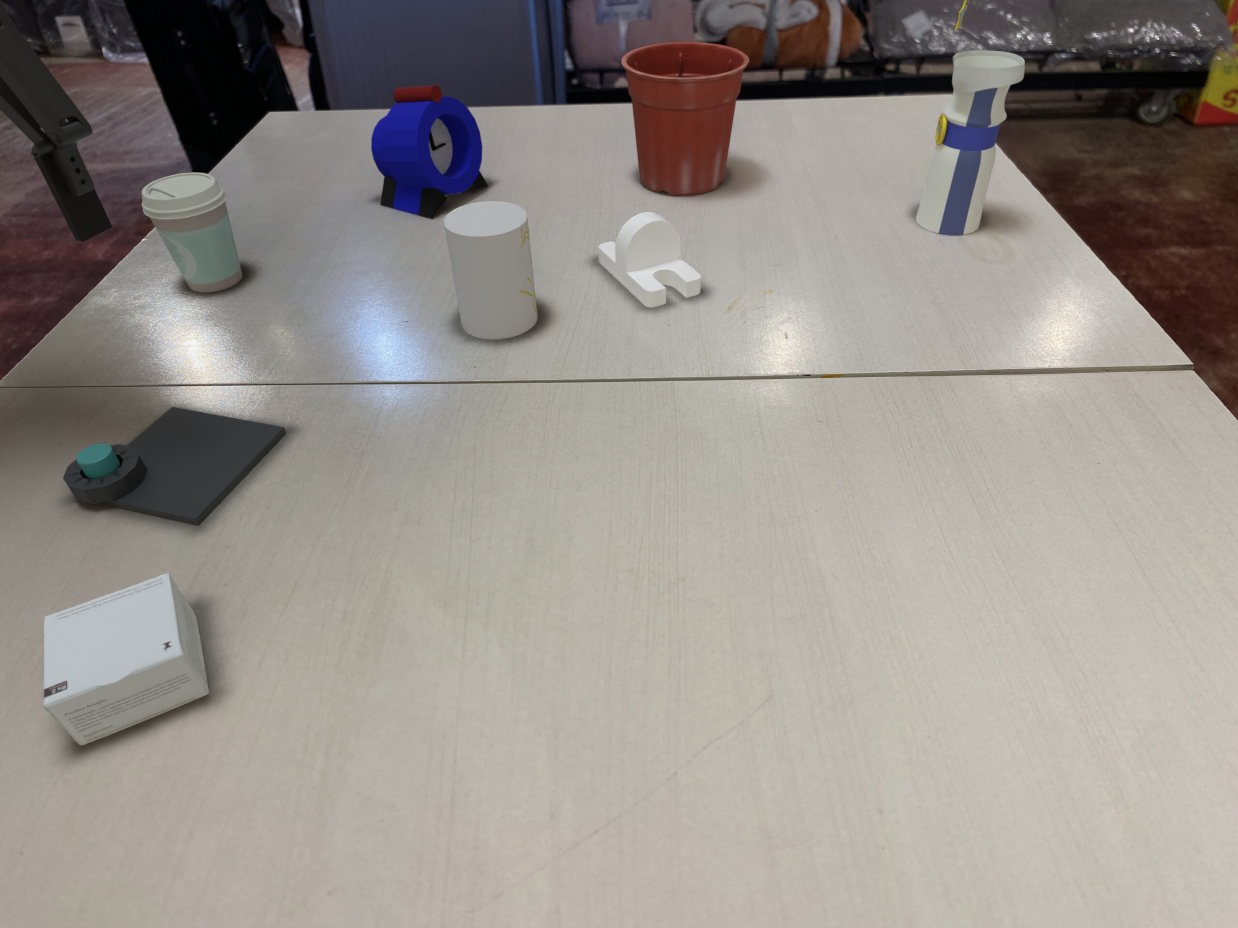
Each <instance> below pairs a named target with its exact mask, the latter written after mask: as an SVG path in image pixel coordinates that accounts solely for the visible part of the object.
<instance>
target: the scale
mask: <svg viewBox="0 0 1238 928" xmlns="http://www.w3.org/2000/svg"><path fill="white" fill-rule="evenodd" d="M286 435H287V431H286V429H285V427H284V426H279V425H274V424H270V423H269V424H268V423H263V422H258V421H252V420H246V419H241V418H236V417H231V416H226V415H225V416H224V415H218V414H213V413H208V412H204V411H197V410H193V409H192V410H191V409H187V408H182V407H181V408H180V407H175V406H171V407H170V408H169V409H168V410H166V412H164V413H163V414H162V415H161V416H159V418H157V419H156V420H154V422H153V423H151V424H150V425H149V426H148V427H147V428H146V429H145V430H143V431H142V432H141V433H140V434H139V435H137V437H135V438H134V439H133V440H131V442H129V443H128V444H126V445H124V444H120V443H118V444H109V445H110V446H111V447H112V449H113V451H114V453H115V454H116V456H117V458H118V460H119V461H120V467H119V468H118V469H117V470H116V471H115V472H114V473H112V474H109V475H107V476H105V477H103V478H97V479H90V478H88V477H87V476H86V475H85V473H84V472H83V470H82V469H81V467H80V465H79V464H78V462H77V460H76V459H74V460H73V462H71V463H70V464H68V465H67V466H66V469H65V471H64V474H63V477H62V479H63V481H64V482H65V485H66V486H67V487H68V489H69V490H70V492H71V493H72V495H73V497H74V498H75V500H76V501H78V502H82V503H86V504H90V505H95V504H99V505H104V506H109V507H113V508H118V509H122V510H126V511H131V512H136V513H141V514H145V515H149V516H154V517H159V518H162V519H167V520H172V521H176V522H181V523H186V524H190V525H195V526H199V525H200V524H202V522H204V521H205V520H206V518H207V517H208V516H209V515H211V513H212V512H213V511H214V510H215V509H216V508H217V507H218V506H219V504H220V503H221V502H222V501H224V500H225V498H226V497H227V496H228V495H229V494H230V493H231V492H232V491H233V490H234V489H235V488H236V487H237V486H238V485H239V484H240V483H241V482H242V481H243V480H244V478H245V477H247V475H248V474H249V473H250V472H251V471H252V470H253V469H254V468H255V467H256V466H257V465H258V464H259V463H260V462H261V461H262V459H263V458H264V457H265V456H266V455H267V454H269V452H270V451H271V450H273V448H274V447H275V446H276V445H277V444H278V443H279V442H280V440H281V439H282V438H283V437H284V436H286Z"/></svg>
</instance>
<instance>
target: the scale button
mask: <svg viewBox="0 0 1238 928" xmlns="http://www.w3.org/2000/svg"><path fill="white" fill-rule="evenodd" d="M110 445H111V444H108V443H103V442H101V443H94V444H91V445H88V446H86V447H85V448H83V449H81V450H80V451H79V452H78V453H77V455H76V459H75V460H77V462H78V464H79V465H80V467H81V469H82V470H83V472H84V473H85V475H86V476H87V477H88V478H90V479H97V478H103V477H105V476H107V475H109V474H112V473H114V472H115V471H116V470H117V469H118V468H119V467H120V461H119V460H118V458H117V456H116V454H115V453H114V451H113V449H112V447H111V446H110Z"/></svg>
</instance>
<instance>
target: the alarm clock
mask: <svg viewBox="0 0 1238 928" xmlns="http://www.w3.org/2000/svg"><path fill="white" fill-rule="evenodd" d="M392 96H393V100H394V102H395V104H393V105H392V106H391V108H390V109H389V111H388V112H387V114H386V115H385V116H383V117H381V118H380V119H379V120H378V121H377V123H376V124H375V126H374V128H373V131H372V134H371V140H370V141H371V146H370V147H371V155H372V158H373V162H374V164H375V166H376V168H377V170H378V171H379V172H380V173H381V175H382V176H383V183H382V191H381V196H380V197H381V198H380V206H383V207H386V208H389V209H394V210H397V211H401V212H405V213H409V214H411V215H416V216H419V217H423V218H427V219H430V220H433V219H434V218H435V217H436V216H437V214H438V212H439V211H440V210H441V209H442V207H444V205H445V203H446V202H447V201H448V200H449V196H447V195H457V194H461V193H464V192H466V190H468V189H469V188H470V187H472V186H476V187H486V188H487V187H488V188H489V187H490V186H489V184H488V183H487V181H486V179H485V178H484V176H483V174H482V173H481V171H480V169H481V166H482V162H483V141H482V135H481V130H480V128H479V125H478V123H477V121H476V118H475V117H474V114H472V112H471V110H470V109H469V108H468V107H467V106H466V105H465V104H464V103H463V102H461V101H460V100H459V99H457V98H455V97H451V96H447V95H446V96H443V91H442V89H441V88H440V86H439V85H437V84H434V85H433V84H431V85H420V86H419V85H417V86H405V87H396V88H394V90H393V93H392Z"/></svg>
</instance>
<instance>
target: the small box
mask: <svg viewBox="0 0 1238 928" xmlns="http://www.w3.org/2000/svg"><path fill="white" fill-rule="evenodd" d="M42 688H43V691H42V697H43V698H42V700H43V701H42V707H43V709H44V710H45V711H46V712H47V713H48V714H49V715H50V716H51V717H52V718H53V719H54V720H56V722H57V723H58V724H59V725H60V726H61V727H62V728H63V729H64V730H65V731H66V733H68V734H69V736H70V737H71V738H72V739H73V740H74V741H75V742H76V743H77V744H78V745H79V746H84V745H87V744H89V743H92V742H95V741H97V740H100V739H103V738H105V737H109V736H110V735H113V734H115V733H119V732H121V731H123V730H126V729H128V728H130V727H132V726H135V725H137V724H140V723H143V722H144V721H148V720H150V719H153V718H156V717H158V716H161V715H162V714H164V713H167V712H169V711H172V710H174V709H176V708H179V707H182V706H185V705H186V704H188V703H192V702H194V701H195V700H197V699H198V700H199V699H200V698H203V697H205V696H208V695H209V693H210V689H209V683H208V678H207V670H206V665H205V658H204V652H203V647H202V640H201V635H200V629H199V624H198V619H197V616H196V613H195V611H194V610H193V608H192V607H191V606H190V604H189V603H188V601H187V599H186V598H185V596H184V595H183V593H182V591H181V590H180V588H179V587H178V585H177V583H176V582H175V580H174V578H173V576H171V574H170V573H169V572H164V573H163V574H160V575H157V576H155V577H152V578H150V579H147V580H144V581H141V582H138V583H136V584H133V585H130V586H128V587H125V588H121V589H119V590H116V591H113V592H111V593H110V592H109V593H107V594H105V595H102V596H100V597H97V598H94V599H91V600H89V601H86V602H83V603H80V604H77V605H74V606H71V607H69V608H66V609H62V610H60V611H56V612H54V613H52V614H48V615H46V616H44V618H43V687H42Z"/></svg>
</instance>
